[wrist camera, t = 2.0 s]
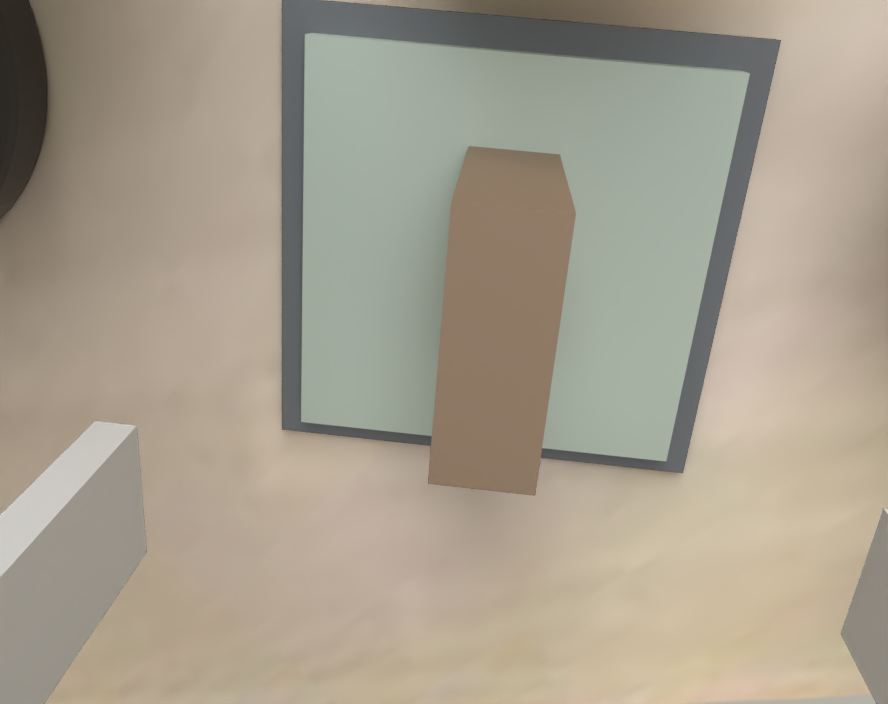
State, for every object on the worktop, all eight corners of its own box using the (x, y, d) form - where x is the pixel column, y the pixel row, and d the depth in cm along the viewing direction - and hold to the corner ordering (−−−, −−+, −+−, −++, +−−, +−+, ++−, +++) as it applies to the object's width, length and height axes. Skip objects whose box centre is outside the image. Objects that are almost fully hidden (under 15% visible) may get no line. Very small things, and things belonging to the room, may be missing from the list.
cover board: (306, 410, 33) (236, 549, 24) (312, 32, 27) (222, 48, 19) (661, 448, 32) (712, 604, 24) (741, 70, 27) (843, 103, 18)
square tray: (286, 422, 34) (282, 429, 33) (286, -3, 27) (282, -4, 27) (680, 465, 33) (682, 473, 32) (775, 39, 27) (781, 40, 26)
